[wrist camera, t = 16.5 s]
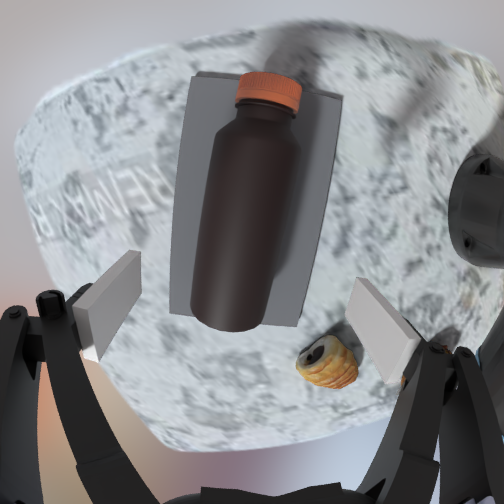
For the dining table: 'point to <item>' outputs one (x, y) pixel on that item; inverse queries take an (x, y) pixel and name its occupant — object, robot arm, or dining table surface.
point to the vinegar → (246, 204)
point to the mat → (302, 206)
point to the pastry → (328, 364)
